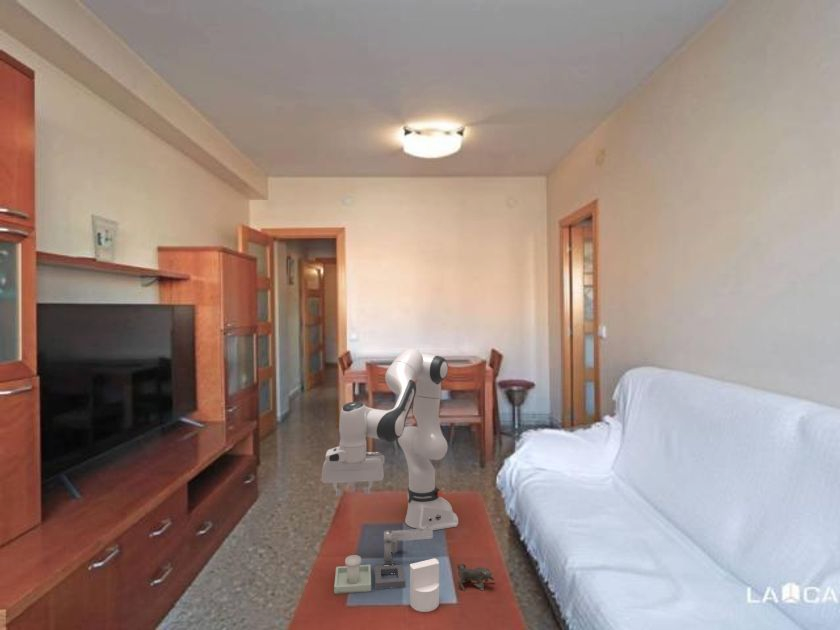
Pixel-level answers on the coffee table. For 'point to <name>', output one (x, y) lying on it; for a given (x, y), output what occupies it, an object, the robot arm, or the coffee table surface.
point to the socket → (389, 572)
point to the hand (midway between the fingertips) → (352, 494)
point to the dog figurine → (473, 576)
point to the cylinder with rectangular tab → (424, 585)
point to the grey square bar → (408, 534)
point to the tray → (344, 587)
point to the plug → (353, 568)
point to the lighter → (394, 546)
